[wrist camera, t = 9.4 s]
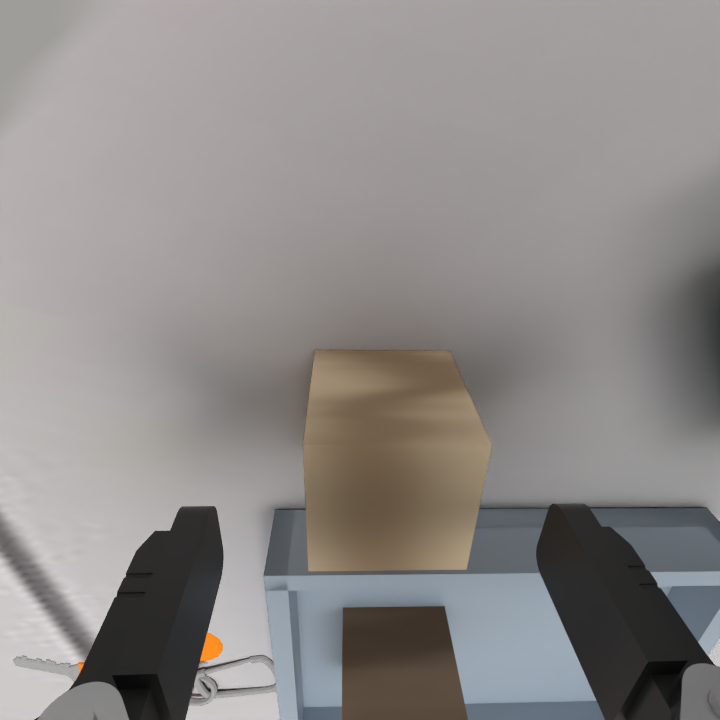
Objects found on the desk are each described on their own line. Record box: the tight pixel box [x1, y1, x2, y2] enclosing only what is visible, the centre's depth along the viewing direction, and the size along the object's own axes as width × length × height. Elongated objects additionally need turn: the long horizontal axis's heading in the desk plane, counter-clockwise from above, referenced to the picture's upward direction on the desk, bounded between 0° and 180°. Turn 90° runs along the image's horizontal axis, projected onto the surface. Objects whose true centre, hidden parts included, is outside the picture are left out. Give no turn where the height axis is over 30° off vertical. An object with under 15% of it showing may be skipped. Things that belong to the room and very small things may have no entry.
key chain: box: [13, 633, 277, 706], centre depth 24 cm, size 13×7×1 cm, turn 100°
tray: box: [264, 508, 720, 720], centre depth 21 cm, size 18×14×3 cm
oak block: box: [303, 350, 492, 571], centre depth 14 cm, size 4×4×5 cm
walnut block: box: [342, 606, 468, 720], centre depth 19 cm, size 4×4×5 cm
